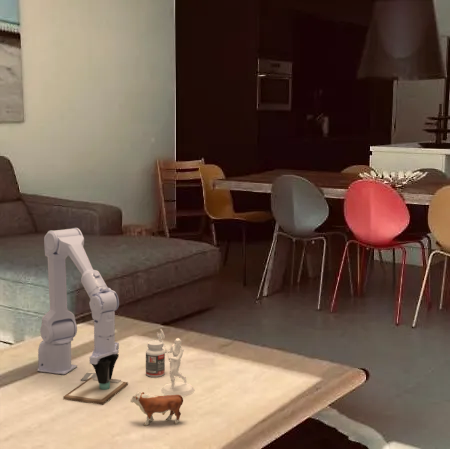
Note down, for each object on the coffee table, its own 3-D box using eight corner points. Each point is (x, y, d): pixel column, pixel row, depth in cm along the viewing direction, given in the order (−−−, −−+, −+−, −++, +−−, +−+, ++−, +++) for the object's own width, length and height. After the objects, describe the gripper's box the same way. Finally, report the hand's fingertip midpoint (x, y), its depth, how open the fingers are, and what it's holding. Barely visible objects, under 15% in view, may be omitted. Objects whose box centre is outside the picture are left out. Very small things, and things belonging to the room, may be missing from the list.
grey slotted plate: (80, 380, 221) (80, 379, 221) (87, 373, 227) (86, 372, 227) (94, 381, 221) (94, 380, 221) (99, 374, 226) (99, 373, 226)
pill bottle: (161, 378, 224) (161, 346, 223) (143, 376, 225) (143, 344, 224) (166, 371, 230) (167, 340, 228) (148, 370, 231) (149, 339, 229)
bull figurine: (130, 419, 194) (130, 389, 193) (182, 418, 195) (183, 388, 194) (129, 426, 189) (129, 395, 188) (183, 425, 191) (183, 394, 189)
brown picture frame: (63, 399, 206) (63, 394, 206) (90, 380, 222) (90, 375, 221) (103, 404, 203) (103, 399, 203) (127, 384, 218) (127, 380, 218)
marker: (97, 389, 212) (97, 361, 210) (101, 385, 215) (101, 358, 213) (107, 390, 211) (107, 362, 210) (111, 386, 214) (111, 359, 213)
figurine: (154, 388, 216) (154, 327, 213) (182, 381, 221) (182, 322, 219) (172, 399, 208) (173, 335, 205) (201, 391, 214) (201, 330, 211)
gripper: (106, 343, 202) (106, 391, 204) (128, 328, 216) (128, 374, 218) (82, 340, 204) (82, 388, 206) (105, 326, 218) (106, 371, 220)
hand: (104, 381), depth 212 cm, fingers closed on marker, 3 cm apart
